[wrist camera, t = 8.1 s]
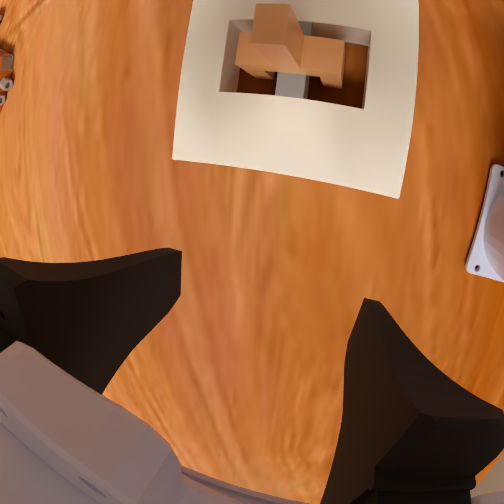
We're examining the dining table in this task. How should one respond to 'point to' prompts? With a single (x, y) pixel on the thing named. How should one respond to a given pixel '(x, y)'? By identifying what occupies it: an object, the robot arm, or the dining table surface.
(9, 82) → the toy gun
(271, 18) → the notched wooden block
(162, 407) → the dining table surface
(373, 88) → the square window frame
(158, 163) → the dining table surface
